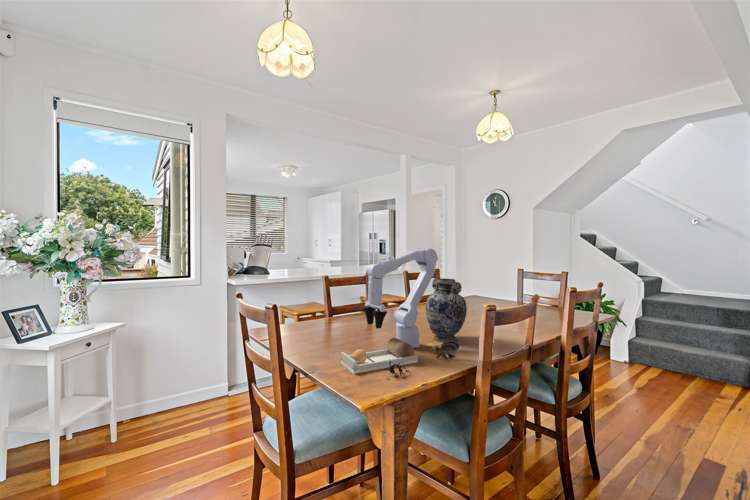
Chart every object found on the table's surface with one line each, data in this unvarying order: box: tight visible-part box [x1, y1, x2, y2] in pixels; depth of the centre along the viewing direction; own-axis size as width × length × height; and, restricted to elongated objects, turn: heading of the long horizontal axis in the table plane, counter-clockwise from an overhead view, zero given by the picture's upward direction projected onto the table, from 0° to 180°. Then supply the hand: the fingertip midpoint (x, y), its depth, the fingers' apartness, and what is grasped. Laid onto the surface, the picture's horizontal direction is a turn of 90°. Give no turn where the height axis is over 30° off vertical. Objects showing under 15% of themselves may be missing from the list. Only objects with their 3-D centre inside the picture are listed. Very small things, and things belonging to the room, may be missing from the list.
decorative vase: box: [425, 278, 468, 343], centre depth 164 cm, size 21×19×28 cm
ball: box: [352, 348, 367, 364], centre depth 129 cm, size 5×5×5 cm
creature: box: [388, 359, 412, 380], centre depth 120 cm, size 8×5×8 cm
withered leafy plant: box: [432, 341, 460, 360], centre depth 138 cm, size 8×7×9 cm
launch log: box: [386, 337, 415, 358], centre depth 136 cm, size 6×10×6 cm, turn 27°
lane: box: [340, 348, 418, 375], centre depth 132 cm, size 26×12×4 cm, turn 117°
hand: (374, 326), depth 146 cm, fingers open, 7 cm apart
